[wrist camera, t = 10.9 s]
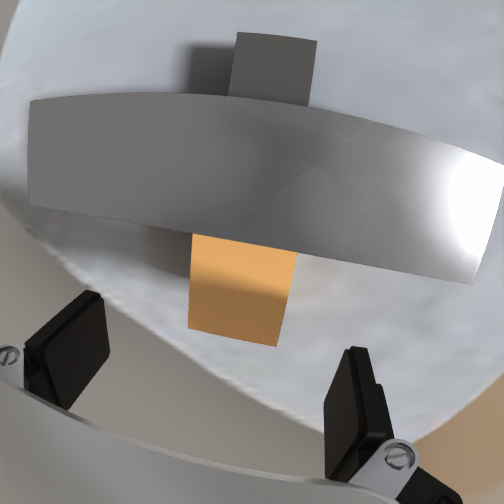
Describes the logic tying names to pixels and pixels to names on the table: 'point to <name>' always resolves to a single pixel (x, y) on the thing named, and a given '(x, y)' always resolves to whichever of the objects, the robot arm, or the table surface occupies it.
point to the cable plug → (238, 253)
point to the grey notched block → (267, 178)
